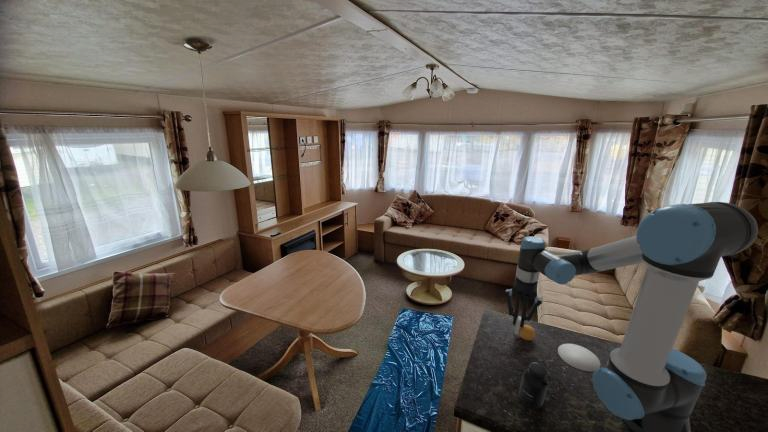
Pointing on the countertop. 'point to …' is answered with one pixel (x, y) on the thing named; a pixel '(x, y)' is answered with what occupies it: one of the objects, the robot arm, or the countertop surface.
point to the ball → (527, 332)
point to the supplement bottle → (533, 385)
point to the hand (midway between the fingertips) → (516, 332)
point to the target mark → (579, 357)
